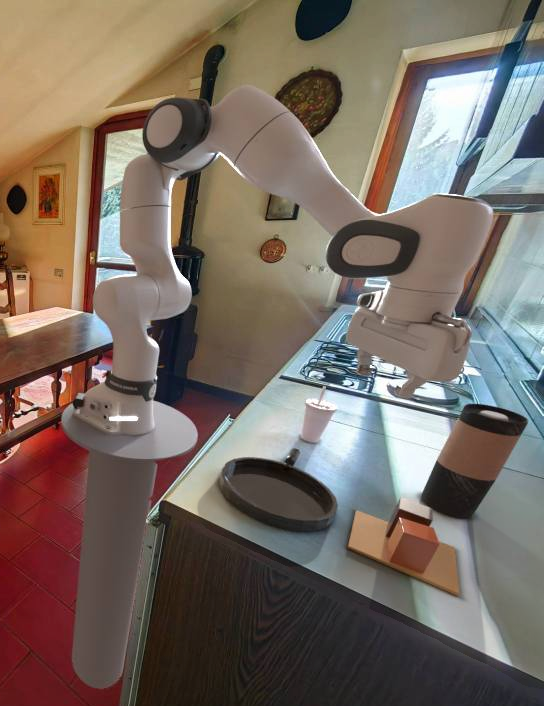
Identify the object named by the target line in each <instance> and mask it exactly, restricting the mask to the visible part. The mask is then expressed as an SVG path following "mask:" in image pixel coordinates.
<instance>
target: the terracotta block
mask: <svg viewBox="0 0 544 706" xmlns="http://www.w3.org/2000/svg"><path fill="white" fill-rule="evenodd" d="M439 542H440V541H439V538H438V535H437V533H436V530H435V528H434V527H432V526H426V525H422V524H419V523H416V522H413V521H410V520H406V519H403V518H399V520H398V522H397V525H396V527H395V529H394V531H393V533H392V535H391V537H390V539H389V541H388V543H387V545H386V548H387V553H388V557H389V562H392V563H394V564H397V565H400V566H403V567H406V568H408V569H411V570H414V571H417V572H419V573H422V574H423V573H424V571H425V570H426V568H427V566H428V564H429V563H430V561H431V559H432V557H433V555H434V554H435V552H436V550H437V548H438V546H439V545H440V544H439Z"/></svg>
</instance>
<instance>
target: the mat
mask: <svg viewBox="0 0 544 706" xmlns="http://www.w3.org/2000/svg"><path fill="white" fill-rule="evenodd" d="M388 523H389V521H386V520H383V519H381V518H379V517H376V516H373V515H371V514H368V513H365V512H362V511H361V510H357V509H356V510H355V513H354V517H353V521H352V526H351V530H350V534H349V539H348V543H347V549H348V550H351V551H353V552H355V553H357V554H360V555H362V556H364V557H367V558H369V559H371V560H373V561H376V562H378V563H380V564H383V565H385V566H387V567H390V568H393V569H395V570H397V571H399V572H401V573H404V574H405V575H406V574H407V575H408V576H411V577H413V578H415V579H418V580H419V581H422V582H425V583H427V584H429V585H432V586H434V587H435V588H438V589H440V590H442V591H446V592H447V593H450V594H452V595H454V596H456V597H459V596H460V584H459V575H458V574H459V573H458V564H457V555H456V548H455V547H454V546H452V545H449V544H446V543H444V542H442V541H439V544H440V545H439V546H438V548H437V550H436V552H435V554H434V555H433V557H432V559H431V561H430V563H429V564H428V566H427V568H426V570H425V571H424V573H423V574H422V573H419V572H417V571H414V570H411V569H408V568H406V567H403V566H400V565H397V564H394V563H392V562H389V557H388V553H387V548H386V545H387V543H388V541H389V539H390V538H389V537H386V532H387V526H388Z"/></svg>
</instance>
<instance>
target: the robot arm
mask: <svg viewBox="0 0 544 706" xmlns="http://www.w3.org/2000/svg"><path fill="white" fill-rule="evenodd" d="M141 135H142V136H141V137H142V139H141V140H142V143H143V147H144V149H145V151H146V153H144V154H141V155H139V156H136V157H135V158H133V159H132V160H130V161H129V162H128V163H127V165H126V167H125V169H124V173H123V177H122V182H121V190H120V198H119V199H120V200H119V247H120V249H121V251H122V253H123V254H124V255H126V256H127V257H129V258H130V259H131V260H132V262H133V264H134V267H135V271H136V274H124V275H117V276H114V277H113V276H112V277H110V278H107V279H104V280H101V281H100V282H99V283H98V284H97V286H96V288H95V289H94V292H93V295H92V307H93V310H94V313H95V314H96V316H97V317H98V319H99V320H100V321H102V322H103V323H104V324H105V325H106V327H107V328H108V330H109V332H110V334H111V335H110V336H111V338H112V346H113V347H112V365H111V368H110V369H108V370H106V372H103V373H102V374H101V375H102V376H101V378H102V379H104V378H105V379H104V381H103V382H101V383H100V382H99V383H98V384H96V385H94V386H93V387H91V388H90V389H87V391H86V392H83V393H82V392H78V393H77V394H76V395H75V398H74V399H73V401H72V403H73V406H74V409H73V415H75V416H77V417H78V418H80V419H82V420H84V421H85V422H87V423H89V424H91V425H92V426H94V427H96V428H98V429H99V430H101V431H103V432H105V433H106V434H108V435H120V434H125V435H141V434H146V433H149V432H150V431H152V430H153V429H154V427H155V424H154V418H153V401H154V398H155V395H156V392H157V382H158V376H157V369H158V364H159V356H160V347H159V343H157V341H156V340H155V339H153V337H150V336H149V335H148V331H147V323H148V322H149V321H157V320H166V319H170V318H173V317H175V316H178V315H180V314H182V313H185V311H187V310H188V308H189V306H190V304H191V301H192V296H193V293H192V286H191V284H190V282H189V281H188V279H187V278H185V277H184V276H183V275H182V273H181V272H180V270H179V268H178V266H177V264H176V260H175V258H174V255H173V251H172V243H171V217H172V216H171V214H172V190H173V186H174V183H175V181H180V182H181V181H184V180H186V179H187V178H189V177H191V176H193V175H195V174H198V173H201V172H202V171H204V170H206V169H207V168H209V167H210V166H212V165H213V164H214V163H215V161H217V160H218V158H219V157H220V156H222V157H223V158H224V159H225V160H226V161H227V162H228V163H229V164H230V166H232V168H233V169H234V170H235V171H236V172H237V173H238V174H239V175H240V176H241V177H242V178H243V179H244V180H246V182H248V183H249V184H250V185H252V186H254V187H255V188H257V189H258V190H260V191H262V192H264V193H267V194H270V195H273V196H276V197H279V198H282V199H284V200H288V201H290V202H292V203H293V204H296V205H298V206H299V207H301V208H302V209H304V210H305V211H306V212H307V213H308V214H309V215H310V216H311V218H313V219H314V220H315V221H316V222H317V223H318V224H319V226H321V227H322V228H323V229H324V230H325V231H326V232H327V233H328V234H329V235H330V236H331V238H330V239H329V241H328V244H327V246H326V249H325V260H326V264H327V265H328V267H329V269H330V270H331V271H332V272H333V273H334V274H336V275H338V276H339V277H342V278H346V279H349V280H365V279H370V278H372V279H373V278H386V279H387V282H386V283H385V284H386V285H385V286H384V289H383V290H378V291H377V290H376V291H373V292H372V291H371V292H366V293H361V294H360V295H359V296H358V297H357V300H356V306H358V307H357V308H356V309H355V310H354V312H353V313H352V315H351V318H350V321H349V323H348V325H347V326H348V327H347V330H346V333H345V339H346V343H347V344H349V345H351V346H353V347H354V348H357V352H356V357H357V366H356V369H355V373H356V374H358V375H360V376H361V377H370V376H371V375H372V372H373V371H374V369H375V368H374V367H373V366H372V358H373V357H376V358H379V359H380V360H382V361H385V362H387V363H389V364H391V365H393V366H395V367H397V368H400V369H401V370H404V371H406V372H407V375H406V379H408V380H406V381H405V382H404V383H403V384H396V386H395V389H394V391H393V394H394V395H395V396H397V397H399V398H401V399H408V400H409V399H412V398H413V396H414V394H415V392H416V390H417V389H419V388H421V387H422V386H423V385H425V384H426V383H428V382H436V383H438V382H439V383H449V382H450V383H451V382H452V381H454V380H455V379H457V378H458V377H459V376H460V374H461V372H462V370H463V367H464V365H465V362H466V360H467V356H468V353H469V349H470V344H471V338H472V336H473V331H472V330H471V327H470V326H469V325H468V321H467V320H466V319H465V320H464V319H462V318H455V317H453V316H452V315H453V312H454V310H455V308H456V307H457V304H458V302H459V300H460V298H461V295H462V294H463V291H464V286H465V278H466V276H467V275H468V273H469V271H471V269H472V268H473V266H474V265H476V264H477V262H478V259H479V258H480V255H481V253H482V251H483V248H484V246H485V244H486V241H487V239H488V236H489V233H490V230H491V227H492V223H493V220H494V210H493V208H492V206H491V205H490V204H489V203H488V202H487V201H485V200H483V199H481V198H476V197H473V196H467V195H460V194H451V193H450V194H448V193H434V194H430V195H427V196H426V197H424V198H422V199H421V200H418V201H416V202H413V203H412V204H409V205H407V206H403V207H401V208H399V209H396V210H392V211H389V212H385V213H381V214H379V213H376V212H374V211H372V210H371V209H369V208H368V207H367V206H366V205H364V203H362V202H361V201H360V200H359V198H357V197H356V196H355V195H354V194H353V193H352V192H351V191H350V190H349V189H348V188H347V187H346V186H345V184H342V183H341V182H340V180H339V179H338V178H337V177H336V176H335V175H334V173H333V172H332V170H331V168H330V167H329V166H328V164H327V162H326V160H325V158H324V157H323V155H322V153H321V152H320V149H319V148H318V146H317V144H316V143H315V141H314V140H313V139H314V138H313V137H312V135H311V134H310V132H309V131H308V130H307V129H306V127H305V126H304V125H303V123H302V122H301V121H300V119H298V117H297V116H295V114H293V112H292V111H290V109H288V108H287V107H286V106H285V105H284V104H283V103H281V102H280V101H279V100H278V99H277V98H275V97H273V96H272V95H271V94H269V93H268V92H266V91H265V90H262V89H261V88H259V87H258V86H255V85H252V84H243V85H240V86H238V87H236V88H234V89H232V90H231V91H229V92H228V93H227V94H226V95H224V97H222V99H220V101H219V102H218V103H217V104H215V105H213V106H210V103H209V101H208V100H206V99H204V98H190V97H181V96H180V97H178V96H177V97H176V96H175V97H170V98H165V99H163V100H162V101H160V102H158V103H157V104H156V105H155V106H154V107H153V108H152V109H151V110H150V111H149V113H148V115H147V116H146V118H145V121H144V123H143V126H142V133H141Z"/></svg>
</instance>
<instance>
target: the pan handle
mask: <svg viewBox="0 0 544 706" xmlns="http://www.w3.org/2000/svg"><path fill="white" fill-rule="evenodd" d="M300 454H301V451H300V450H299V448H295V447H294V448H291V450H290V451H289V453H288V455H287V456H286V458H285V460H284V462H283V463H285V465H287V466H293V467H295V464H296V462H297V460H298V458H299V457H300ZM287 466H284V467H283V469H284V470H285V471H289V467H287Z"/></svg>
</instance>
